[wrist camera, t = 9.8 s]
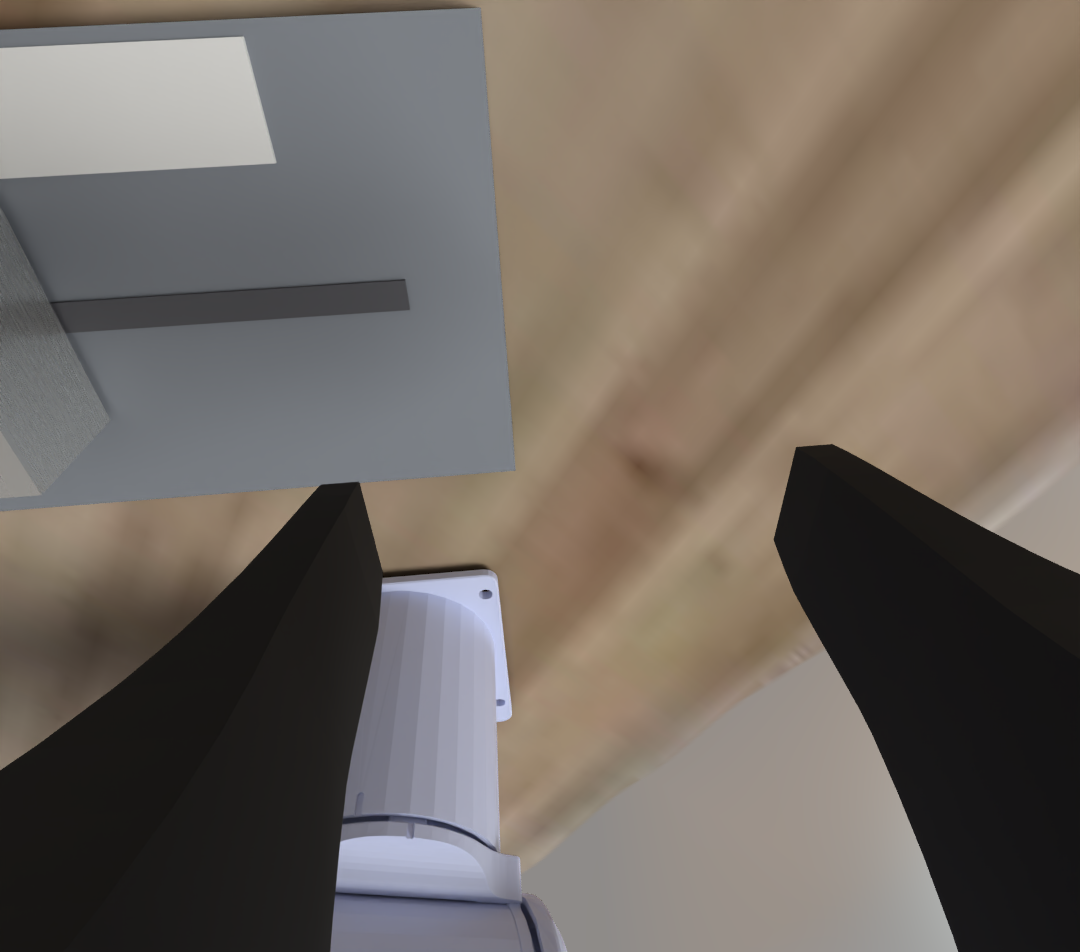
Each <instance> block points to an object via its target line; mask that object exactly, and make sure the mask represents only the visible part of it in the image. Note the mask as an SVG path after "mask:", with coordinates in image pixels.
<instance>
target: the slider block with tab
mask: <svg viewBox="0 0 1080 952" xmlns="http://www.w3.org/2000/svg"><path fill="white" fill-rule="evenodd" d="M110 421H111V420H110V418H109V416H108V415H107V413H106V411H105V409H104V407H103V405H102V403H101V401H100V399H99V397H98V395H97V393H96V391H95V389H94V387H93V385H92V383H91V381H90V380H89V378H88V376H87V374H86V372H85V370H84V368H83V366H82V364H81V362H80V360H79V358H78V356H77V354H76V352H75V350H74V348H73V346H72V345H71V343H70V341H69V339H68V337H67V335H66V333H65V331H64V329H63V327H62V325H61V323H60V321H59V319H58V317H57V315H56V313H55V312H54V310H53V308H52V306H51V304H50V302H49V300H48V298H47V296H46V294H45V292H44V290H43V288H42V286H41V284H40V282H39V280H38V278H37V277H36V275H35V273H34V271H33V269H32V267H31V265H30V263H29V261H28V259H27V257H26V255H25V253H24V251H23V249H22V247H21V245H20V243H19V242H18V240H17V238H16V236H15V234H14V232H13V230H12V228H11V226H10V224H9V222H8V220H7V218H6V216H5V214H4V212H3V210H2V208H1V207H0V498H12V497H25V496H38V495H42V494H43V493H44V492H45V491H46V490H47V489H48V488H49V486H50V485H51V484H52V483H53V482H54V481H55V480H56V479H57V478H58V477H59V476H60V475H61V473H62V472H63V471H64V470H65V469H66V468H67V467H68V466H69V465H70V464H71V463H72V462H73V460H74V459H75V458H76V457H77V456H78V455H79V454H80V453H81V452H82V451H83V450H84V449H85V448H86V446H87V445H88V444H89V443H90V442H91V441H92V440H93V439H94V438H95V437H96V436H97V435H98V433H99V432H100V431H101V430H102V429H103V428H104V427H105V426H106V425H107V424H108V423H109V422H110Z"/></svg>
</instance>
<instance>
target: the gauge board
mask: <svg viewBox="0 0 1080 952" xmlns="http://www.w3.org/2000/svg"><path fill="white" fill-rule="evenodd" d="M0 207H1V208H2V210H3V212H4V214H5V216H6V218H7V220H8V222H9V224H10V226H11V228H12V230H13V232H14V234H15V236H16V238H17V240H18V242H19V243H20V245H21V247H22V249H23V251H24V253H25V255H26V257H27V259H28V261H29V263H30V265H31V267H32V269H33V271H34V273H35V275H36V277H37V278H38V280H39V282H40V284H41V286H42V288H43V290H44V292H45V294H46V296H47V298H48V300H49V302H50V304H51V306H52V308H53V310H54V312H55V313H56V315H57V317H58V319H59V321H60V323H61V325H62V327H63V329H64V331H65V333H66V335H67V337H68V339H69V341H70V343H71V345H72V346H73V348H74V350H75V352H76V354H77V356H78V358H79V360H80V362H81V364H82V366H83V368H84V370H85V372H86V374H87V376H88V378H89V380H90V381H91V383H92V385H93V387H94V389H95V391H96V393H97V395H98V397H99V399H100V401H101V403H102V405H103V407H104V409H105V411H106V413H107V415H108V416H109V418H110V420H111V421H110V422H109V423H108V424H107V425H106V426H105V427H104V428H103V429H102V430H101V431H100V432H99V433H98V435H97V436H96V437H95V438H94V439H93V440H92V441H91V442H90V443H89V444H88V445H87V446H86V448H85V449H84V450H83V451H82V452H81V453H80V454H79V455H78V456H77V457H76V458H75V459H74V460H73V462H72V463H71V464H70V465H69V466H68V467H67V468H66V469H65V470H64V471H63V472H62V473H61V475H60V476H59V477H58V478H57V479H56V480H55V481H54V482H53V483H52V484H51V485H50V486H49V488H48V489H47V490H46V491H45V492H44V493H43V494H42V495H38V496H25V497H12V498H0V511H9V510H22V509H34V508H47V507H60V506H72V505H85V504H98V503H110V502H123V501H136V500H148V499H161V498H174V497H186V496H199V495H212V494H225V493H237V492H250V491H263V490H275V489H288V488H301V487H313V486H320V485H321V484H334V483H347V482H359V483H364V482H377V481H389V480H402V479H415V478H427V477H440V476H453V475H465V474H478V473H491V472H503V471H515V458H514V445H513V431H512V418H511V405H510V392H509V378H508V365H507V352H506V339H505V325H504V312H503V299H502V286H501V272H500V259H499V246H498V233H497V219H496V206H495V193H494V180H493V166H492V153H491V140H490V127H489V113H488V100H487V87H486V74H485V60H484V47H483V34H482V21H481V8H463V9H442V10H420V11H399V12H377V13H355V14H334V15H312V16H290V17H269V18H247V19H225V20H204V21H182V22H160V23H139V24H117V25H95V26H74V27H52V28H30V29H9V30H0Z"/></svg>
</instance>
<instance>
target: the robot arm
mask: <svg viewBox="0 0 1080 952" xmlns="http://www.w3.org/2000/svg"><path fill="white" fill-rule="evenodd" d="M774 542H775V545H776V547H777V550H778V553H779V556H780V558H781V561H782V564H783V566H784V569H785V572H786V574H787V576H788V579H789V581H790V584H791V586H792V589H793V591H794V593H795V595H796V597H797V599H798V600H799V602H800V604H801V606H802V608H803V610H804V611H805V613H806V615H807V617H808V619H809V620H810V622H811V624H812V626H813V628H814V629H815V631H816V633H817V635H818V637H819V638H820V640H821V642H822V644H823V645H824V647H825V649H826V651H827V652H828V654H829V656H830V658H831V659H832V661H833V663H834V665H835V667H836V668H837V670H838V671H839V673H840V675H841V677H842V679H843V680H844V682H845V684H846V686H847V688H848V689H849V691H850V693H851V695H852V697H853V698H854V700H855V702H856V704H857V705H858V707H859V709H860V711H861V713H862V715H863V717H864V719H865V721H866V723H867V725H868V727H869V729H870V731H871V733H872V735H873V737H874V739H875V742H876V744H877V746H878V748H879V751H880V753H881V755H882V758H883V759H884V762H885V764H886V767H887V769H888V771H889V774H890V776H891V778H892V780H893V783H894V785H895V787H896V790H897V792H898V794H899V797H900V799H901V802H902V804H903V807H904V809H905V812H906V814H907V817H908V819H909V821H910V824H911V826H912V829H913V831H914V834H915V836H916V839H917V841H918V844H919V846H920V848H921V851H922V853H923V856H924V859H925V861H926V864H927V867H928V869H929V872H930V875H931V878H932V880H933V883H934V886H935V888H936V891H937V894H938V897H939V899H940V902H941V905H942V907H943V910H944V913H945V915H946V918H947V920H948V924H949V926H950V929H951V932H952V934H953V937H954V940H955V943H956V946H957V949H958V952H1080V574H1078V573H1076V572H1073V571H1071V570H1069V569H1066V568H1064V567H1062V566H1059V565H1058V564H1055V563H1053V562H1051V561H1049V560H1047V559H1045V558H1043V557H1041V556H1039V555H1036V554H1034V553H1032V552H1030V551H1028V550H1026V549H1024V548H1023V547H1020V546H1019V545H1016V544H1015V543H1013V542H1010V541H1009V540H1007V539H1005V538H1003V537H1001V536H999V535H997V534H995V533H993V532H991V531H989V530H987V529H985V528H983V527H981V526H980V525H978V524H976V523H974V522H972V521H970V520H968V519H967V518H965V517H963V516H961V515H959V514H957V513H956V512H954V511H952V510H950V509H948V508H947V507H945V506H943V505H941V504H939V503H938V502H936V501H934V500H932V499H931V498H929V497H927V496H925V495H924V494H922V493H920V492H918V491H917V490H915V489H913V488H911V487H910V486H908V485H906V484H904V483H903V482H901V481H899V480H897V479H896V478H894V477H892V476H890V475H889V474H887V473H885V472H883V471H882V470H880V469H878V468H876V467H875V466H873V465H871V464H869V463H868V462H866V461H864V460H862V459H860V458H859V457H857V456H855V455H853V454H851V453H849V452H847V451H845V450H843V449H841V448H839V447H837V446H835V445H833V444H830V445H817V446H804V447H796V450H795V454H794V458H793V462H792V467H791V471H790V475H789V479H788V483H787V487H786V491H785V495H784V499H783V504H782V508H781V512H780V516H779V520H778V524H777V528H776V532H775V536H774ZM482 590H490V591H487V592H483V591H482ZM511 716H512V706H511V697H510V688H509V679H508V670H507V661H506V652H505V643H504V634H503V625H502V616H501V606H500V597H499V588H498V579H497V576H496V574H495V573H494V572H493V571H490V570H485V569H482V570H470V571H458V572H447V573H435V574H423V575H412V576H400V577H388V578H383V572H382V568H381V564H380V560H379V556H378V552H377V549H376V545H375V541H374V537H373V533H372V529H371V525H370V522H369V518H368V514H367V510H366V506H365V502H364V498H363V495H362V491H361V487H360V483H359V482H347V483H334V484H321V485H320V486H319V487H318V488H317V489H316V491H315V492H314V493H313V494H312V495H311V496H310V497H309V498H308V499H307V501H306V502H305V503H304V504H303V505H302V506H301V507H300V508H299V509H298V511H297V512H296V513H295V514H294V515H293V516H292V517H291V519H290V520H289V521H288V522H287V523H286V524H285V525H284V526H283V528H282V529H281V530H280V531H279V532H278V533H277V534H276V535H275V537H274V538H273V539H272V540H271V541H270V542H269V543H268V544H267V545H266V547H265V548H264V549H263V550H262V551H261V552H260V553H259V554H258V555H257V556H256V557H255V558H254V560H253V561H252V562H251V563H250V564H249V565H248V566H247V567H246V568H245V569H244V570H243V571H242V573H241V574H240V575H239V576H238V577H237V578H236V579H235V580H234V581H233V582H232V583H231V584H230V585H228V586H227V587H226V588H225V589H224V590H223V591H222V592H221V593H220V594H219V595H218V596H217V597H216V598H215V599H214V600H213V601H212V602H211V603H210V604H209V605H208V606H207V607H206V608H205V609H204V610H203V611H202V612H201V613H200V614H199V615H198V616H197V617H196V618H195V619H194V620H193V621H192V622H191V623H190V624H189V625H188V626H187V627H185V628H184V629H183V630H182V631H181V632H180V633H179V634H178V635H177V636H175V637H174V638H173V639H172V640H171V641H170V642H169V643H168V644H166V645H165V646H164V647H163V648H162V649H161V650H159V651H158V652H157V653H156V654H155V655H153V656H152V657H151V658H150V659H149V660H148V661H146V662H145V663H144V664H143V665H142V666H140V667H139V668H138V669H137V670H136V671H134V672H133V673H132V674H131V675H130V676H128V677H127V678H126V679H125V680H123V681H122V682H121V683H120V684H118V685H117V686H116V687H115V688H113V689H112V690H111V691H109V692H108V693H107V694H105V695H104V696H103V697H101V698H100V699H99V700H97V701H96V702H95V703H93V704H92V705H91V706H89V707H88V708H87V709H85V710H84V711H83V712H81V713H80V714H79V715H77V716H76V717H74V718H73V719H72V720H70V721H69V722H68V723H66V724H65V725H64V726H62V727H61V728H60V729H58V730H57V731H56V732H54V733H53V734H52V735H50V736H49V737H48V738H46V739H45V740H44V741H42V742H41V743H39V744H38V745H37V746H35V747H34V748H32V749H31V750H30V751H28V752H27V753H25V754H24V755H22V756H21V757H19V758H18V759H16V760H15V761H13V762H12V763H10V764H9V765H7V766H6V767H5V768H3V769H2V770H0V952H567V949H566V946H565V943H564V940H563V938H562V936H561V933H560V932H559V930H558V928H557V927H556V925H555V923H554V921H553V919H552V916H551V914H550V912H549V911H548V909H547V907H546V906H545V905H544V903H543V902H542V900H540V899H539V898H538V897H537V896H535V895H532V894H528V893H522V890H521V871H520V858H519V857H518V856H514V855H507V854H503V853H500V825H499V790H498V755H497V722H501V721H506V720H508V719H509V718H510V717H511Z"/></svg>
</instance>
